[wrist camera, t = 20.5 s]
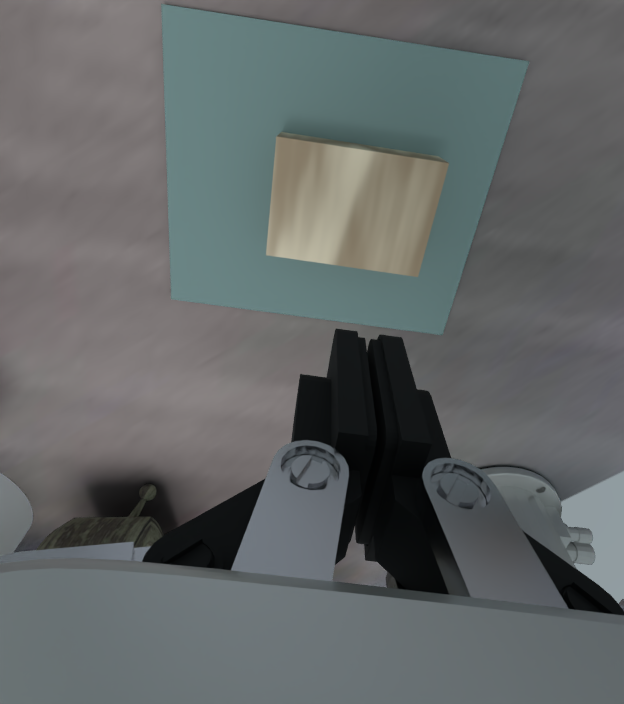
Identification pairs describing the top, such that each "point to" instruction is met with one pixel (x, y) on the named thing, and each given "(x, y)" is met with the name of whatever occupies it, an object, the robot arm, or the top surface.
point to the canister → (13, 515)
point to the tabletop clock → (108, 528)
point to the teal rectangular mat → (329, 123)
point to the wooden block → (352, 204)
